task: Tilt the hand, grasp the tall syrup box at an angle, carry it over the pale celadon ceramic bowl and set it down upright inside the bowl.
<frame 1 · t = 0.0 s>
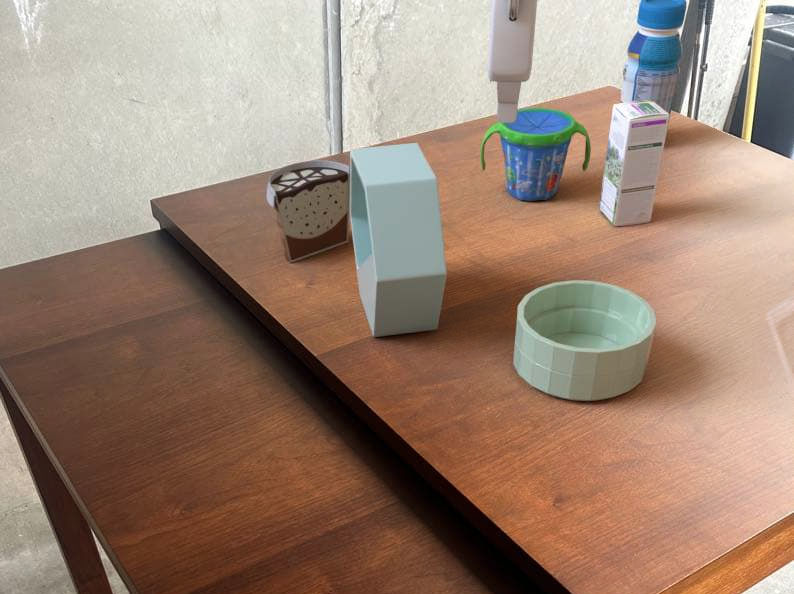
hand: (508, 102, 83), 26 cm above the table, tool pointing down, fingers open, 8 cm apart
syrup box: (623, 217, 122), on the table
food container: (307, 245, 118), on the table
beverage bottle: (638, 142, 141), on the table
snack cup: (531, 193, 128), on the table
bowl: (578, 366, 96), on the table
planter: (396, 311, 106), on the table
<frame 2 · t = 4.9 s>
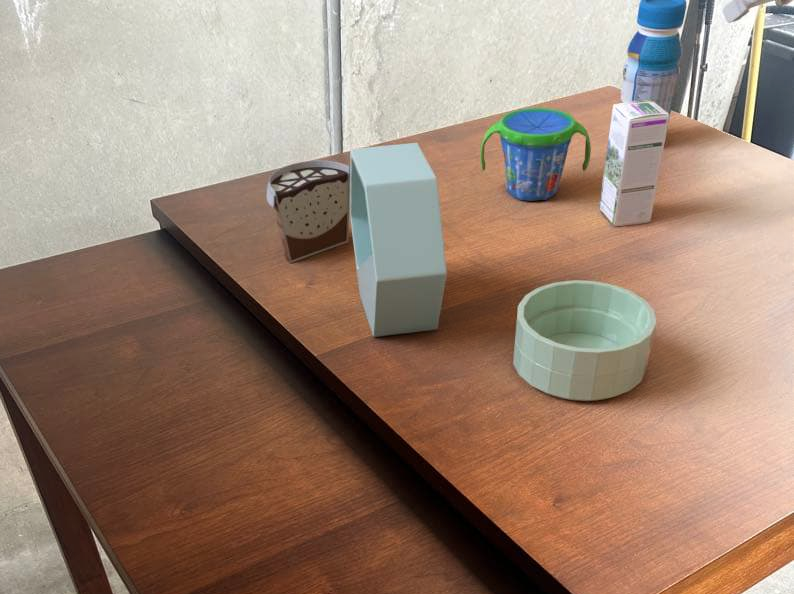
hand: (753, 7, 95), 28 cm above the table, tool tilted 45°, fingers open, 8 cm apart
nothing on the table moved.
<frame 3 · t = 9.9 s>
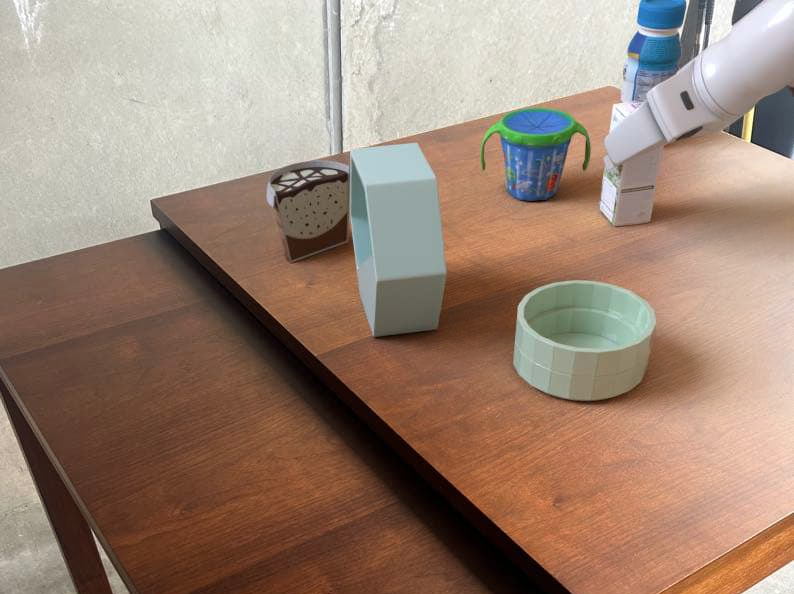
hand: (629, 154, 116), 8 cm above the table, tool tilted 45°, fingers closed on syrup box, 7 cm apart
syrup box: (622, 217, 122), on the table, touching gripper
everything else where it was.
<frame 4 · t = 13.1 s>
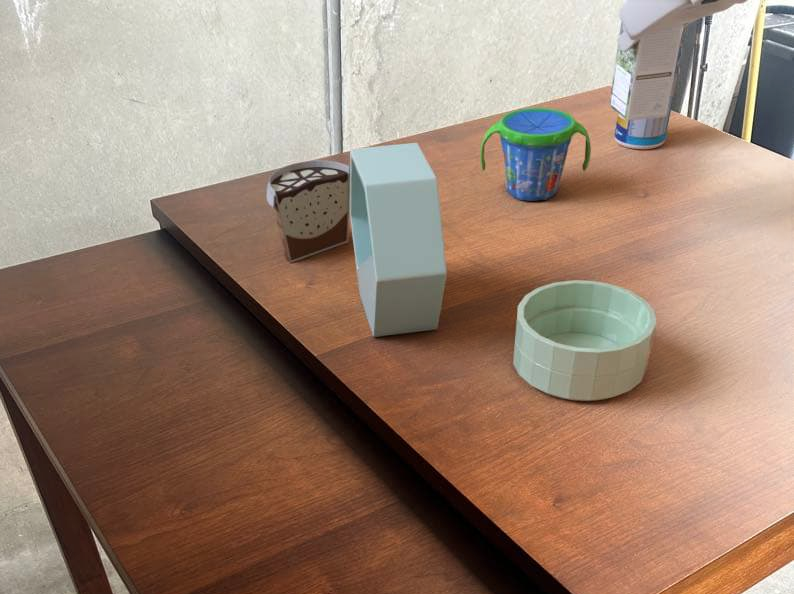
hand: (645, 37, 105), 23 cm above the table, tool tilted 45°, fingers closed on syrup box, 7 cm apart
syrup box: (636, 113, 111), point 14 cm above the table, touching gripper
everything else where it was.
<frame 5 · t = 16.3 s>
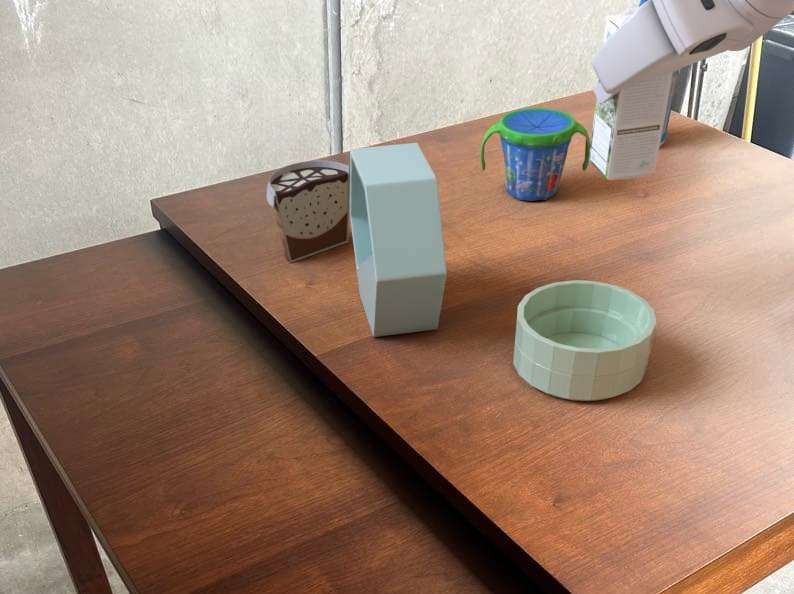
hand: (628, 85, 89), 24 cm above the table, tool tilted 45°, fingers closed on syrup box, 7 cm apart
syrup box: (619, 170, 95), point 16 cm above the table, touching gripper
everything else where it was.
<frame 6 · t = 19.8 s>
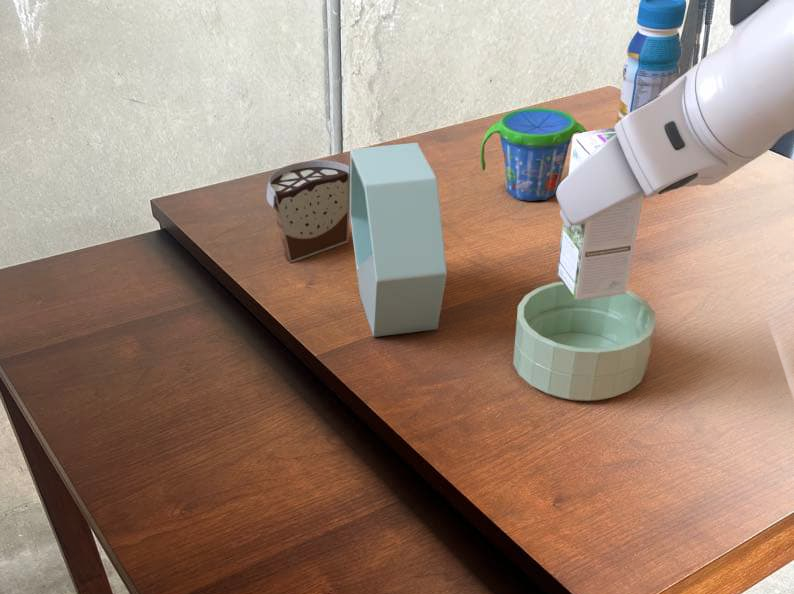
hand: (597, 204, 83), 18 cm above the table, tool tilted 45°, fingers closed on syrup box, 7 cm apart
syrup box: (589, 286, 89), point 10 cm above the table, touching gripper
everything else where it was.
when the fingers open (9 cm above the table, at t = 23.0 s): syrup box stays where it is, resting on bowl.
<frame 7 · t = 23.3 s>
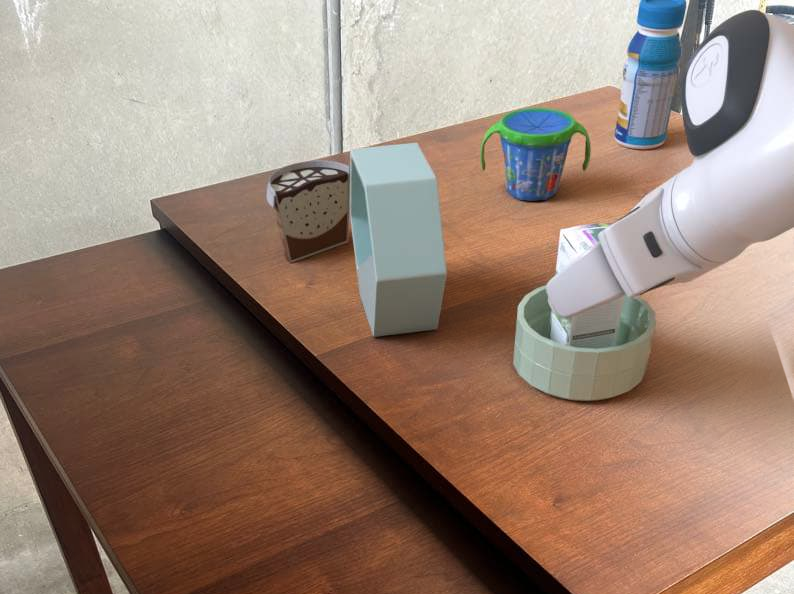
hand: (585, 288, 90), 9 cm above the table, tool tilted 45°, fingers open, 8 cm apart
syrup box: (577, 362, 96), resting on bowl
everything else where it was.
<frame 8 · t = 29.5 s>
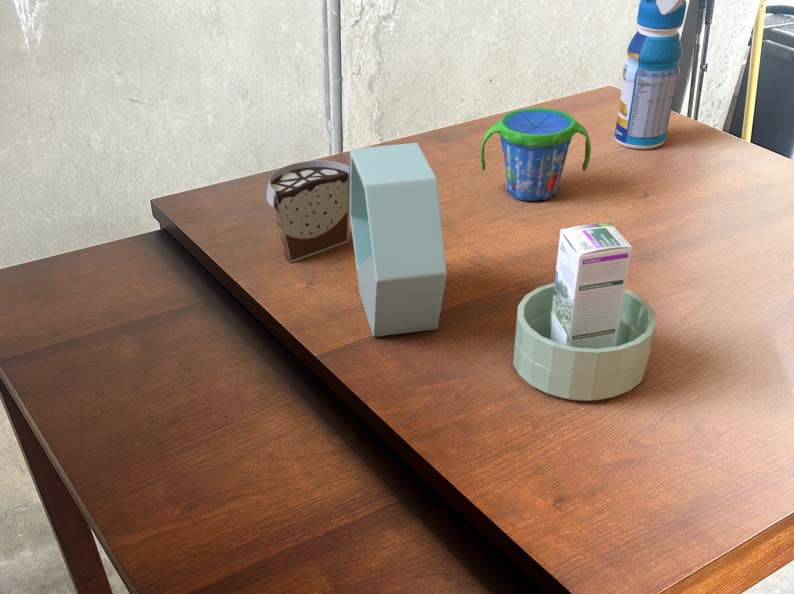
nothing on the table moved.
at the end: syrup box inside the target area in the bowl (0.1 cm from its centre), point 0.4 cm above the bowl's base; syrup box tilted 0°; the gripper is holding nothing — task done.
